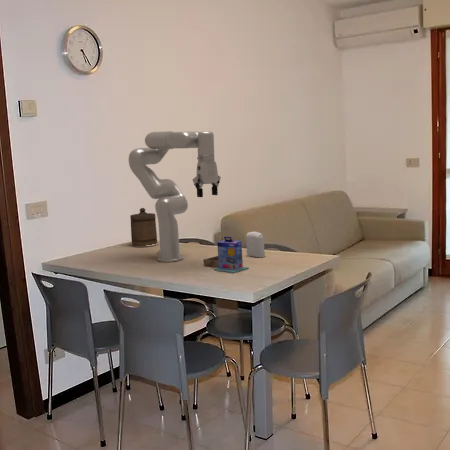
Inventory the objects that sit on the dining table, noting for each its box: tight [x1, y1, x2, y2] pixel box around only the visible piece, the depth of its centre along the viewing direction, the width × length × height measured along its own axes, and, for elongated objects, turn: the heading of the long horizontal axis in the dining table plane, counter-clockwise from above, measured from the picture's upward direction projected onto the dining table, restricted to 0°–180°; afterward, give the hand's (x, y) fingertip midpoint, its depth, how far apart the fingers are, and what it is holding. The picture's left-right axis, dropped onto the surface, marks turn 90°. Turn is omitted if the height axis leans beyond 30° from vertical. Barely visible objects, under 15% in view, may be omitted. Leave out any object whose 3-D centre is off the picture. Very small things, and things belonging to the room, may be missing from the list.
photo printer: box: [245, 231, 266, 258], centre depth 275 cm, size 10×4×12 cm, turn 39°
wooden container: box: [130, 207, 158, 247], centre depth 326 cm, size 15×15×22 cm
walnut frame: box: [203, 255, 219, 268], centre depth 261 cm, size 11×15×3 cm
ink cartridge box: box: [216, 236, 244, 270], centre depth 247 cm, size 10×6×14 cm, turn 60°
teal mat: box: [213, 266, 249, 274], centre depth 248 cm, size 12×10×1 cm
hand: (207, 196), depth 257 cm, fingers open, 9 cm apart
